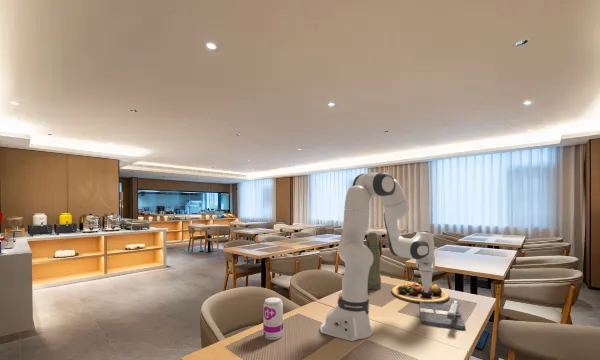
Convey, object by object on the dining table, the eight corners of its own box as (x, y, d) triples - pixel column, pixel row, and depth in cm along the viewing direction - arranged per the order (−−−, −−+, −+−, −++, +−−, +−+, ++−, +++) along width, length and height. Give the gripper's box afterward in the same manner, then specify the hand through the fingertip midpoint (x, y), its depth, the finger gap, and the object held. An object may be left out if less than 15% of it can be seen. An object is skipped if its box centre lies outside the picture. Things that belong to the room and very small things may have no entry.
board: (421, 324, 135) (420, 312, 135) (419, 304, 159) (419, 294, 159) (466, 330, 128) (466, 317, 128) (458, 309, 152) (457, 298, 153)
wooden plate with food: (406, 284, 198) (406, 271, 198) (457, 294, 175) (456, 280, 175) (381, 296, 176) (381, 282, 176) (436, 310, 153) (435, 294, 153)
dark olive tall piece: (385, 288, 187) (384, 233, 189) (370, 290, 183) (369, 234, 185) (377, 284, 195) (376, 232, 198) (362, 286, 191) (361, 232, 193)
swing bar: (451, 303, 145) (451, 299, 145) (460, 304, 143) (460, 301, 143) (445, 318, 128) (445, 313, 128) (456, 320, 125) (456, 315, 126)
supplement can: (275, 342, 119) (275, 304, 119) (259, 337, 123) (259, 300, 124) (286, 334, 125) (286, 298, 126) (271, 329, 130) (271, 295, 131)
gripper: (418, 259, 158) (418, 285, 157) (419, 267, 139) (419, 297, 138) (430, 259, 156) (431, 286, 155) (433, 268, 137) (434, 298, 136)
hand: (426, 291), depth 146 cm, fingers closed
